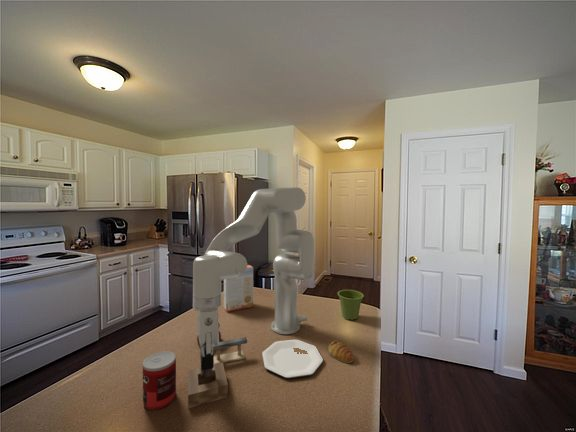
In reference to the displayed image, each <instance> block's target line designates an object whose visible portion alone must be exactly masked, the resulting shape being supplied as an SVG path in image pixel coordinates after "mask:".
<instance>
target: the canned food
mask: <svg viewBox="0 0 576 432" xmlns="http://www.w3.org/2000/svg"><path fill="white" fill-rule="evenodd" d="M176 356H177V355H176V354H175V352H173V351H169V350H165V351H164V350H163V351H158V352H154V353H152V354H151V355H149V356H147V357H146V358H145V359H144V360H143V362H142V403H143V406H144V407H145V408H146V409H147V410H151V411H152V410H153V411H155V410H160V409H163V408H165V407H167V406H169V405H170V404H171V403H172V402H173V400H174V399H175V397H176V394H177V357H176Z"/></svg>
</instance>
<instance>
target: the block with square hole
mask: <svg viewBox="0 0 576 432" xmlns="http://www.w3.org/2000/svg"><path fill="white" fill-rule="evenodd" d="M228 384H229V383H228V380H227V375H226V371H225V367H224V363H220V364H215V365H214V367H213V373H212V375H211V376H209V377H202V376H201V367H198V368H193V369H189V370H187V409H191V408H194V407H198V406H202V405H205V404H209V403H212V402H216V401H219V400H222V399H227V398H228V397H229V392H228V391H229V387H228V386H229V385H228Z"/></svg>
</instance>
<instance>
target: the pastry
mask: <svg viewBox="0 0 576 432" xmlns="http://www.w3.org/2000/svg"><path fill="white" fill-rule="evenodd" d="M327 352H328V353H329V355H330V356H331V357H332V358H334V359H335V360H337V361H339V362H341V361H342V362H341V363H345V364H351V363H352V362H354V359H355V355H354V354H353V351H351V349H350V348H349V346H347V345H346V344H345V343H343V342H340V341H339V340H333V341H331V343H330V344H329V345H328V348H327Z"/></svg>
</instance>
